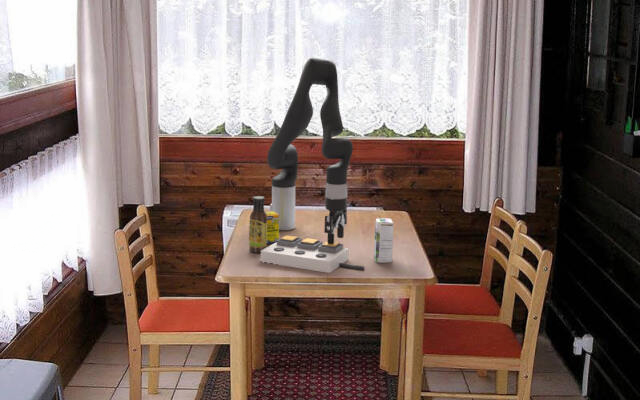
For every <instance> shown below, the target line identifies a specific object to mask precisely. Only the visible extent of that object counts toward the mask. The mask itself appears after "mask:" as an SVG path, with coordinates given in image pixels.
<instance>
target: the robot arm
mask: <svg viewBox="0 0 640 400" xmlns="http://www.w3.org/2000/svg"><path fill="white" fill-rule="evenodd" d="M338 83H339V82H338V70H337V66H336V62H334V61H333V60H331V59H326V58H318V57H309V58H308V59H307V60H306V61H305V63H304V65H303V69H302V72H301V75H300V77H299V81H298V84H297V88H296V90H295V93H294V96H293V98H292V100H291V103H290V105H289V107H288V109H287V111H286V114H285V117H284V119H283V122H282V124H281V127H280V128H279V130H278V132H277V134H276V137H275V138H274V140H273V142H272V144H271V145H270V147H269V149H268V152H267V157H266V160H267V164H268V167H270V168H271V169H272V170H281V171H280V172H279V173H278V174H277V175H275V176H274V177H272V178H271V203H270V204H269V212H271V211H273V212H275V213H277V214H279V231H291V230H294V229H295V228H296V182H297V178H298V165H299V164H298V163H299V155H298V151H297V148H296V146H294V145H293V144H292V143H293V142H294V141H295V140H296V139H297V138H299V137H300V136H301V135H302V134H303V133H304V132H305V131H306V130H307V129H308V127H309V124H310V122H311V120H312V117H313V115H314V108H313V103H312V101H311V97H310V91H311V88H312V86H314V85H320V86H325V88H326V97H325V98H324V101H323V102H322V104H321V107H320V110H319V111H320V113H319V117H320V122H321V127H322V144H321V153H322V155H323V157H324V158H326V159H327V160H338V162H337V163H335V164H332V165H329V166H327V167H326V180H325V181H326V184H325V198H324V199H325V200H324V201H325V202H324V203H325V210H328V211H329V213H328V215H325V216H324V230H323V231H324V233H325V234H327V240H326V242H327V243H328V244H334V242H335V232H336V231H337V232H336V236H337V238H338V239H343V238H344V235H345V234H344V233H345V232H344V230H345V226H346V225H347V224H348V217H347V216H348V185H347V184H348V180H347V179H348V169H349V166H350V161H351V158H352V156H353V155H352V154H353V150H354V145H353V143H352V140H351V139H349V137H338V136H339V135H341V134H342V133H343V132H344V125H343V121H342V115H341V111H340V104H339V86H338V85H339V84H338ZM333 137H334V138H333Z"/></svg>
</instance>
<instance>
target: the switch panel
mask: <svg viewBox="0 0 640 400" xmlns="http://www.w3.org/2000/svg"><path fill="white" fill-rule="evenodd" d="M285 236H286V235H284V236H283V237H285ZM283 237H281V238H283ZM281 238H279V240H277V242H276V243H271V244H270V245H269V246H266V248H265V249H263V250H261V253H260V262H261V261H262V262H261V263H264V262H267V263H266V264H270V263H273V264H272V265H276V264H278V265H277V266H283V267H284V266H285V267H291V268H296V269H302V270H309V271H316V272H320V273H326V274H327V273H328V274H331V273H332V272H333V271H335V270H336V269H337V268H339V267H341V268H347V269H354V270H361V271H364V270H366V269H365V268H366V267H365V266H364V265H363V266H362V265H357V264H350V263H346V262H348V261H349V248H346V247H345V248H344V244H343V243H340V246H338V247H337V248H335V249H334V248H327V247H322V244H324V243H325V242H323V241H322V240H319V243H317V244H316V245H314V246H313V245H306V244H301V241H303V240H305V239H306V238H304V239H303V238H302V237H298V240H297V241H295V242H286V241H280V239H281Z"/></svg>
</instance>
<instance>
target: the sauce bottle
mask: <svg viewBox="0 0 640 400" xmlns="http://www.w3.org/2000/svg"><path fill="white" fill-rule="evenodd" d="M252 201H253V207H252V208H253V210H252V211H251V213H250V215H249V226H248V227H249V230H248V231H249V232H248V236H249V238H248V239H249V242H248V244H249V245H248V246H249V251H250V252H252V253H256V254H257V253H259V252H261V250H263V249H265V248H267V245H268V244H267V215H266V213H265V212H266V211H265V196H261V195H260V196H259V195H258V196H257V195H256V196H253V197H252Z"/></svg>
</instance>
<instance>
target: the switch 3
mask: <svg viewBox="0 0 640 400" xmlns="http://www.w3.org/2000/svg"><path fill="white" fill-rule="evenodd" d="M323 243H324V244H323ZM323 243H322V247H327V248H334V249H335V248H337V247H338V246H340V244H341V243H340V242H337V241H334V244H328V243H327V241H325V242H323Z"/></svg>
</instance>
